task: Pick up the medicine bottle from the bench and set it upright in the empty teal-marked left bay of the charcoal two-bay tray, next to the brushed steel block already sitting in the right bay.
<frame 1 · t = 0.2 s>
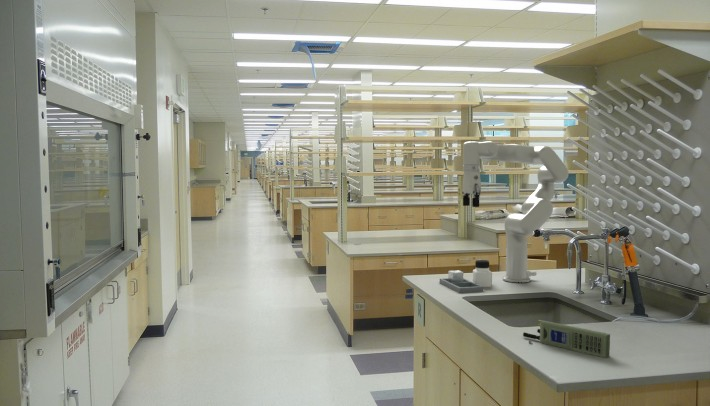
hand: (470, 206, 239), 36 cm above the worktop, tool pointing down, fingers open, 9 cm apart
bay tray: (460, 288, 231), on the worktop
medicine bottle: (482, 286, 235), on the worktop
steel block: (455, 284, 236), point 1 cm above the worktop, touching bay tray
handheld radio: (563, 348, 152), on the worktop
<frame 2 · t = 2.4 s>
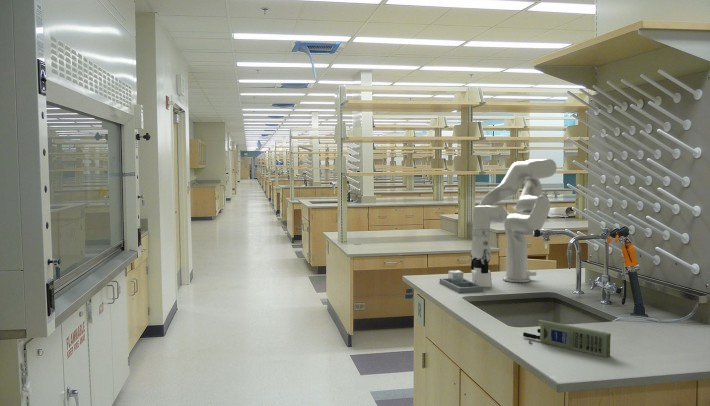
hand: (479, 271, 233), 7 cm above the worktop, tool pointing down, fingers open, 9 cm apart
medicine bottle: (482, 286, 234), on the worktop, touching gripper
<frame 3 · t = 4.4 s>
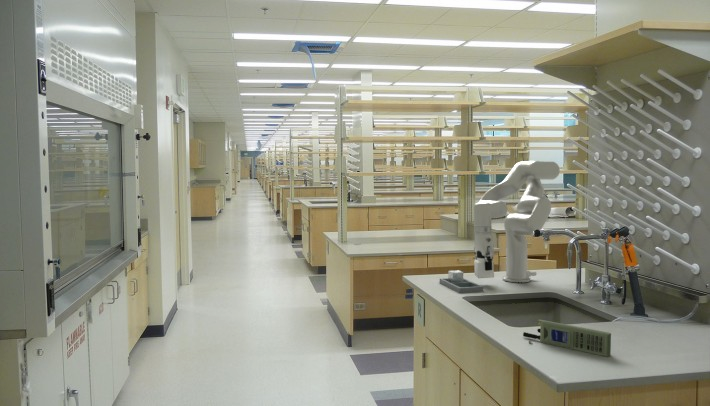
hand: (483, 268, 235), 8 cm above the worktop, tool pointing down, fingers closed on medicine bottle, 8 cm apart
medicine bottle: (484, 276, 235), point 4 cm above the worktop, touching gripper
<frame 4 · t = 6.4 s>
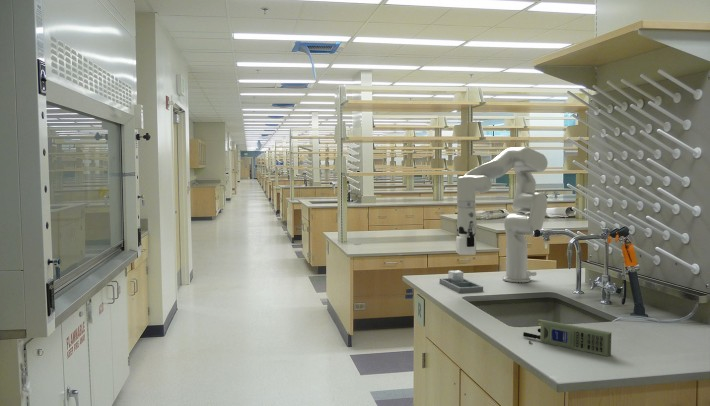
hand: (465, 245, 225), 20 cm above the worktop, tool pointing down, fingers closed on medicine bottle, 8 cm apart
medicine bottle: (465, 254, 225), point 16 cm above the worktop, touching gripper
everything else where it was.
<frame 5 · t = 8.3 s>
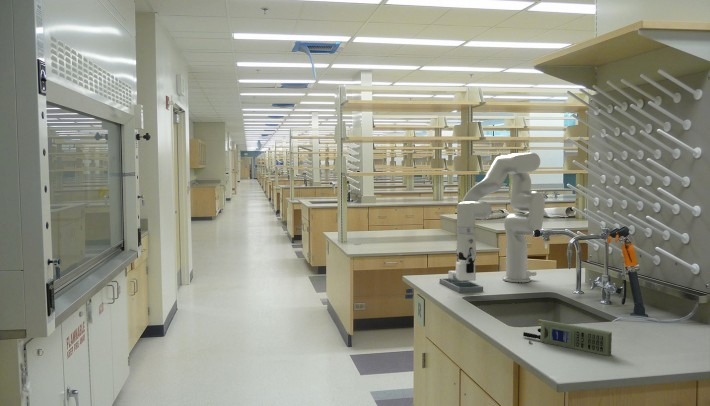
hand: (465, 270, 226), 9 cm above the worktop, tool pointing down, fingers closed on medicine bottle, 8 cm apart
medicine bottle: (465, 279, 226), point 5 cm above the worktop, touching gripper
when the fingers open (5 cm above the worktop, at t = 9.7 s): medicine bottle drops 1 cm, resting on bay tray.
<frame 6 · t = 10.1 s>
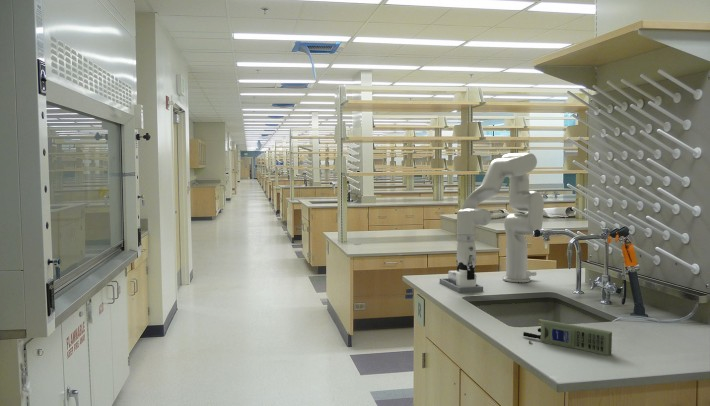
hand: (465, 277, 226), 6 cm above the worktop, tool pointing down, fingers open, 9 cm apart
medicine bottle: (465, 289, 226), resting on bay tray
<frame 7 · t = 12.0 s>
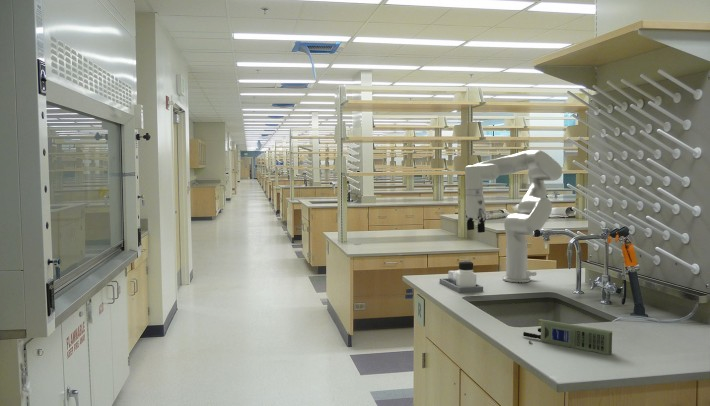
hand: (475, 231, 233), 25 cm above the worktop, tool pointing down, fingers open, 9 cm apart
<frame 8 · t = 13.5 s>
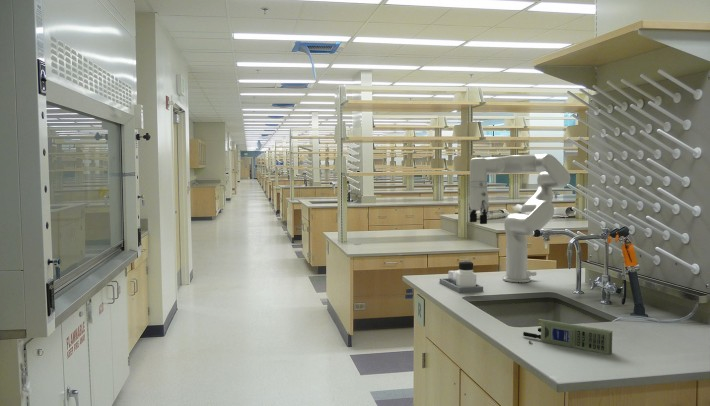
hand: (478, 222, 237), 28 cm above the worktop, tool pointing down, fingers open, 9 cm apart
at the end: medicine bottle 0.2 cm from the target spot on the bay tray, point 0.5 cm above the bay tray's base; medicine bottle tilted 0°; steel block moved 0.0 cm from its start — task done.
